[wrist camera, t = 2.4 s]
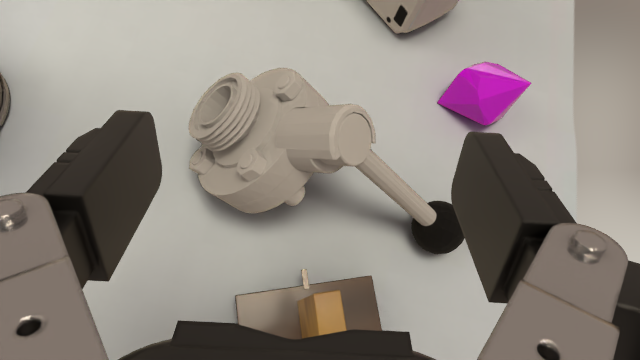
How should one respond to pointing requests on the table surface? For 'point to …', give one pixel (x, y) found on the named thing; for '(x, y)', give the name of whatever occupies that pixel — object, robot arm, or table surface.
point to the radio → (410, 12)
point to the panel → (281, 304)
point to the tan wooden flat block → (321, 314)
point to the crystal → (484, 92)
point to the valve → (296, 150)
